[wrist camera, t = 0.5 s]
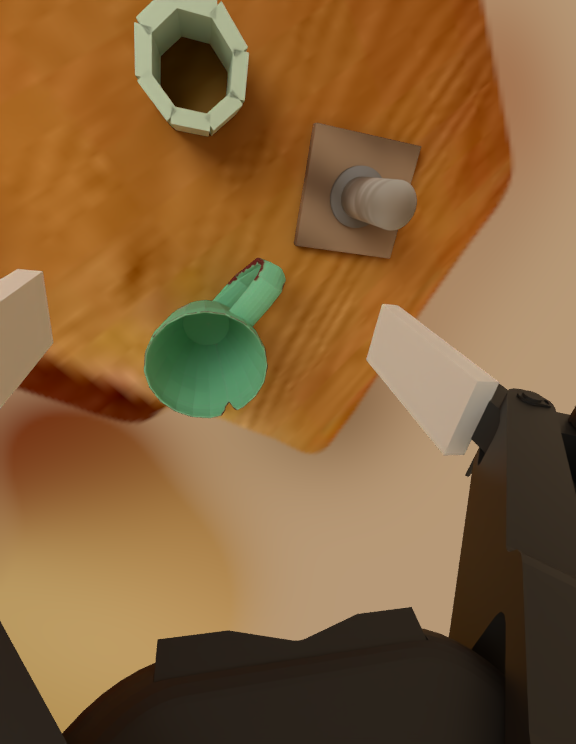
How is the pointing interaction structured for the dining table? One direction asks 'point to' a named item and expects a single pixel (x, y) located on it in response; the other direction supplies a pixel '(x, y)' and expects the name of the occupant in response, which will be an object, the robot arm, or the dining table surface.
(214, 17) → the pale green hollow tube
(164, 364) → the mug
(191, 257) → the dining table surface
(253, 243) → the dining table surface
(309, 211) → the shaft block
